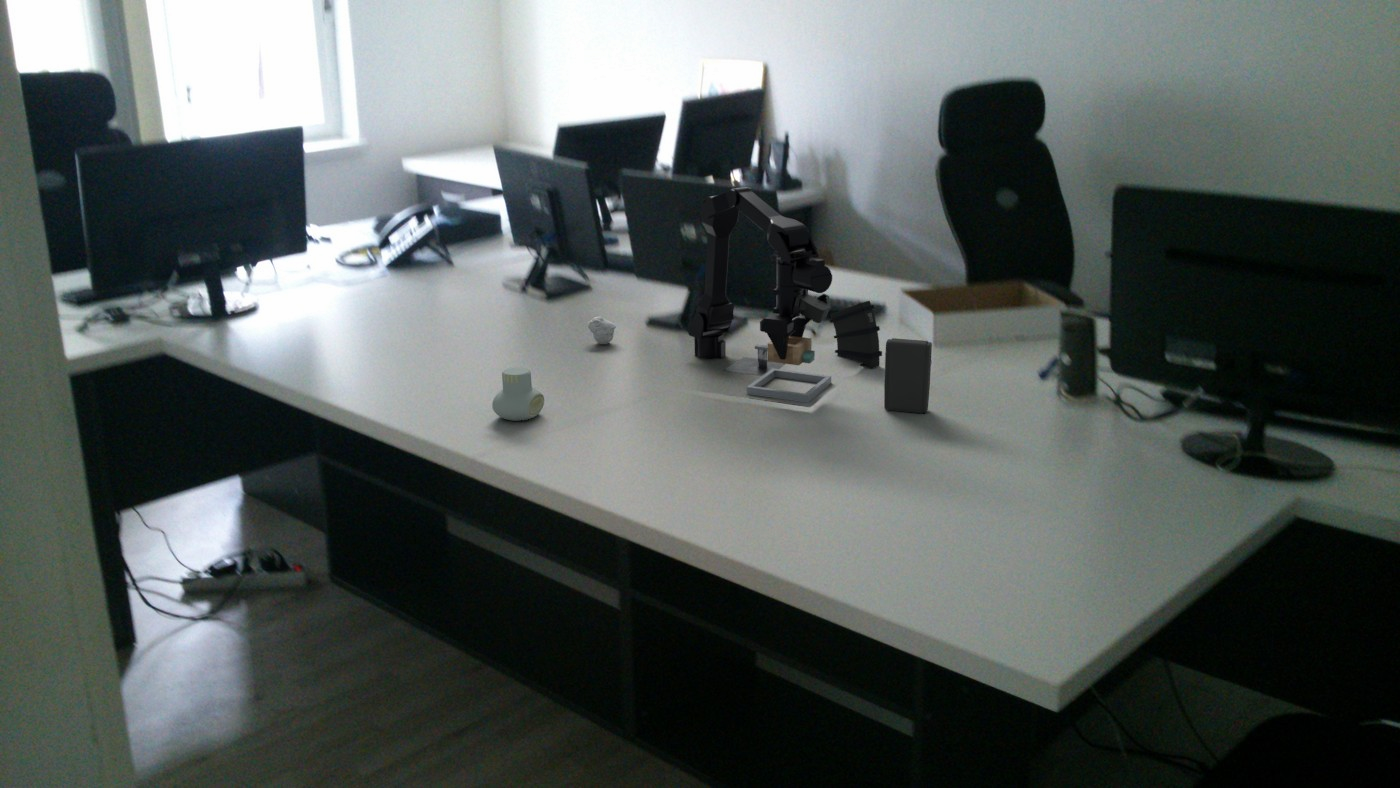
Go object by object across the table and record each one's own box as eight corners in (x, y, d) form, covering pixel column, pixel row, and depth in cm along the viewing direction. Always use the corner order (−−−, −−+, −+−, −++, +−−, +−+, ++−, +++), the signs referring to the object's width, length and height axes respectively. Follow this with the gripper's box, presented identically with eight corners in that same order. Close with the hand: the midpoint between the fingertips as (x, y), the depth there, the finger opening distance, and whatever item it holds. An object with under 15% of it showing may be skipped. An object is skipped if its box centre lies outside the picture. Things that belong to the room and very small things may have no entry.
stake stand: (723, 374, 272) (723, 349, 270) (743, 361, 282) (743, 337, 280) (767, 380, 268) (767, 355, 266) (786, 366, 277) (786, 342, 275)
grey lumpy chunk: (588, 341, 299) (587, 314, 297) (616, 339, 300) (615, 312, 298) (588, 348, 294) (587, 320, 291) (617, 346, 294) (616, 319, 292)
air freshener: (524, 427, 242) (521, 381, 239) (488, 423, 245) (485, 377, 242) (549, 410, 252) (546, 364, 249) (514, 406, 255) (511, 361, 251)
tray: (746, 397, 257) (746, 386, 256) (772, 378, 269) (772, 368, 268) (807, 406, 251) (807, 395, 250) (831, 387, 263) (831, 376, 262)
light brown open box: (805, 366, 252) (806, 348, 251) (767, 361, 256) (767, 343, 255) (818, 356, 258) (818, 339, 257) (780, 352, 262) (780, 334, 261)
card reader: (930, 409, 248) (933, 339, 243) (927, 415, 245) (930, 345, 240) (886, 404, 251) (889, 336, 246) (882, 411, 248) (885, 341, 243)
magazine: (881, 365, 271) (861, 302, 271) (841, 377, 282) (822, 316, 282) (891, 362, 273) (872, 299, 274) (852, 374, 284) (833, 313, 284)
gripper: (809, 298, 241) (808, 371, 246) (841, 277, 256) (840, 347, 261) (758, 292, 245) (758, 364, 250) (793, 272, 261) (792, 341, 266)
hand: (789, 354), depth 257 cm, fingers closed on light brown open box, 7 cm apart
